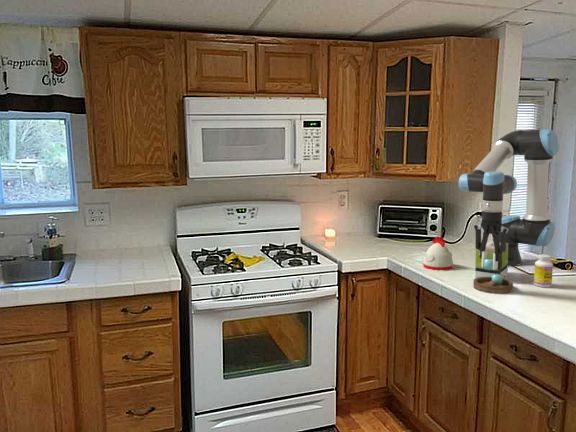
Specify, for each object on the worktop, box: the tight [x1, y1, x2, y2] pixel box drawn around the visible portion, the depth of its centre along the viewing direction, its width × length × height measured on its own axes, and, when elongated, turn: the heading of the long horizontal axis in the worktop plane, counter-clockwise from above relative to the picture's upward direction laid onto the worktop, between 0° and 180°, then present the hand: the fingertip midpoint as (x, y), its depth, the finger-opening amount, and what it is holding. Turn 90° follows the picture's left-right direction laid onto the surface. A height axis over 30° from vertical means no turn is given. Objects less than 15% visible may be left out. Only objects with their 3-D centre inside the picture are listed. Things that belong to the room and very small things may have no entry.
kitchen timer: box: [422, 235, 454, 271], centre depth 235 cm, size 14×14×15 cm
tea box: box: [474, 240, 509, 279], centre depth 217 cm, size 15×10×15 cm, turn 141°
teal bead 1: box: [484, 258, 494, 270], centre depth 197 cm, size 4×4×4 cm
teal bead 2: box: [492, 274, 502, 286], centre depth 204 cm, size 4×4×4 cm
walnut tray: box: [473, 277, 514, 295], centre depth 202 cm, size 15×15×3 cm
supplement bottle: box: [533, 253, 554, 288], centre depth 203 cm, size 7×7×13 cm
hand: (489, 267), depth 198 cm, fingers closed on teal bead 1, 4 cm apart
